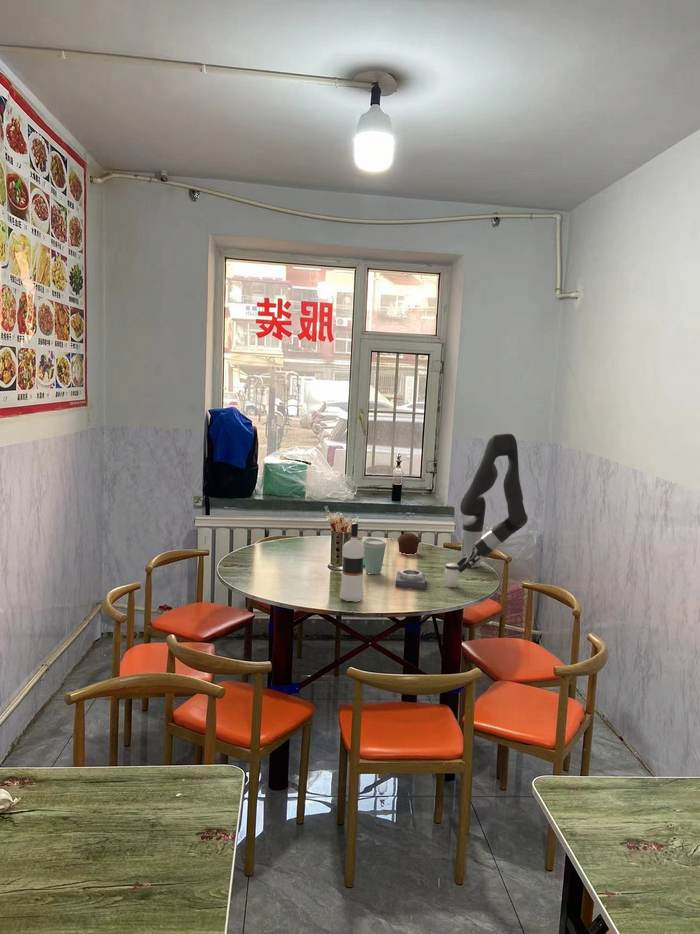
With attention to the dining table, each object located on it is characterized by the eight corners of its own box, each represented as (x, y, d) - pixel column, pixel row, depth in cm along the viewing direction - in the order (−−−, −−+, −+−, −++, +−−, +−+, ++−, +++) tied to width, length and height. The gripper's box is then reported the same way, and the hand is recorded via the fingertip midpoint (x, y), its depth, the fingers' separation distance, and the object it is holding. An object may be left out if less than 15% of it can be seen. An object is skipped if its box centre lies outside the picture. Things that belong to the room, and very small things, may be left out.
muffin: (402, 549, 349) (403, 530, 348) (422, 552, 345) (423, 533, 344) (393, 553, 339) (394, 534, 338) (414, 557, 334) (415, 537, 333)
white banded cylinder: (444, 583, 291) (445, 562, 290) (457, 584, 291) (458, 563, 290) (444, 587, 286) (445, 566, 285) (457, 588, 285) (459, 567, 284)
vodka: (334, 598, 264) (337, 522, 260) (350, 593, 271) (354, 519, 267) (351, 604, 258) (355, 526, 254) (368, 599, 264) (372, 523, 261)
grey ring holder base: (397, 578, 296) (397, 567, 295) (424, 580, 294) (425, 569, 294) (395, 587, 282) (396, 575, 281) (424, 589, 281) (425, 578, 280)
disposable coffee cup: (389, 572, 304) (390, 539, 302) (377, 578, 295) (379, 544, 293) (368, 568, 309) (369, 536, 307) (356, 573, 300) (358, 540, 298)
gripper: (480, 533, 291) (452, 557, 294) (483, 540, 277) (453, 565, 280) (492, 546, 291) (463, 570, 294) (495, 554, 277) (465, 579, 280)
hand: (458, 568), depth 287 cm, fingers open, 8 cm apart
